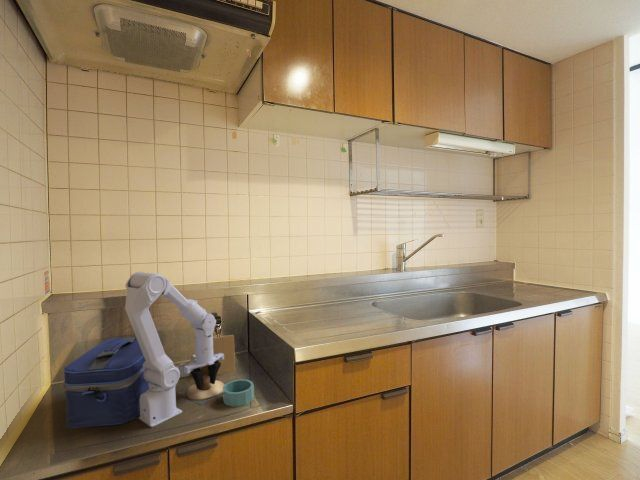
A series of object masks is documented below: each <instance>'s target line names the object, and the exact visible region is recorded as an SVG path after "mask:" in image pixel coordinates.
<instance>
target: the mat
mask: <svg viewBox="0 0 640 480" xmlns="http://www.w3.org/2000/svg"><path fill="white" fill-rule="evenodd" d="M225 384H226V383H224V385H225ZM187 390H188V388H186V389H185V390H183V391H180V392H178V394H179V395H180V396H183V397H184V398H186V399H188V400H190V401H192V402H194V403H196V404H198V405H200V406H202V405H203V404H205V403H208V402H210V401H211V400H213V399H215V398H217V397H220V396H223V392H222V393H221V394H220V395H218V396H216V397H213V398H210V399H205V400H193V399H190V398H189V397H188V396H187Z"/></svg>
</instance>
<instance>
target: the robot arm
mask: <svg viewBox="0 0 640 480" xmlns="http://www.w3.org/2000/svg"><path fill="white" fill-rule="evenodd" d="M125 288H126V289H125V290H126V295H125V297H126V298H125V307H124V308H125V309H124V310H125V312H126V315H127V316H128V319H129V322H130V325H131V327H132V329H133V332H134V335H135V338H137V340H138V343H139V345H140V348H141V350H142V353H143V355H144V358H145V360H146V361H145V362H144V363H143V368H144V374H143V376H144V379H145V380H146V381H147V382H148V386H149V389H148V390H147V391H146V392H144V393H143V394H141V395H140V414H139V417H138V419H139V420H141V421H142V422H143V423H145V424H146V425H148V426H149V427H151V428H154V427H156V426H157V425H160V424H161V423H163V422H165V421H167V420H170V419H171V418H174V417H176V416H177V415H179V414H182V413H183V410H181V409H180V408H178V407H177V397H176V396H177V395H176V386H177V384H178V382H179V380H180V378H179V377H180V371H179V369H178V368H177V366H175V364H174V362H173V361H172V359H171V358H170V357H169V356H168V355H167V354H166V352H165V349H164V347H163V344H162V341H161V339H160V335H159V333H158V331H157V330H158V329H157V327H156V326H155V323H154V319H153V317H152V314H151V312H150V310H149V309H150V307H151V306H152V304H153V303H155V301H156V300H157V299H158V298H159V297H160V295H161V296H163V298H165V299H167V300H168V301H169V302H171V303H172V304H173V305H175V307H178V313H179V314H180V315H181V316H182V317H183V318H185V319H186V320H187V321H188V322H189V323H190V326H191V327H192V328H194V336H195V337H194V339H195V341H194V343H195V355H196V359H195V361H194V362H192V363H190V364H189V363H188V364H189V365H187V364H186V365H187V366H184V372H185V373H187V374H188V373H189V375H191V377H192V379H193V381H194V384H196V387H197V389H199V390H202V378H203V376H204V372H205V371H204V370H202V369H201V368H203V367H206V366H207V370H208V375H209V376H210V383H211V384H215V380H217V372H218V370H219V368H220V366H221V363H220V362H219V360H223V359H224V354H223V353H218V354H213V338H214V331H215V326H216V324H217V319H216V318H215V315H214V314H212V313H209V312H207V309H206V308H205V307H202V306H200V305H199V304H198V303H199V301H198V300H197V299H192V298H188V299H187V298H186V297H185V296H184V295H183V294H182V293H181V292H180V291H179V290H178V289H177V288H176V287H175V286H174V285H173V284H172V283H171V281H170V280H169V279H168V278H166V277H165V276H164V275H163V274H162V273H158V272H157V273H152V272H151V273H149V272H143V271H135V272H133V273H132V274H131V275H130V276H129V278H128V280H127V281H126V283H125Z"/></svg>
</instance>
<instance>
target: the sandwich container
mask: <svg viewBox="0 0 640 480" xmlns="http://www.w3.org/2000/svg"><path fill="white" fill-rule="evenodd" d="M218 353H223V354H224V359H223V360H219V362H220V363H221V366H220V368H219V370H218V372H217V375H222V374H227V373H232V372H235V371H236V366H235V365H236V364H235V363H236V362H235V361H236V359H235V335H234V334H230V335H222V336H216V337H213V354H218Z"/></svg>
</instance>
